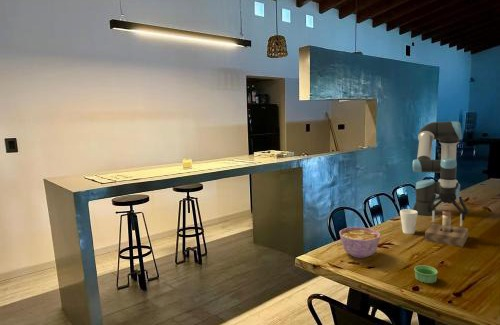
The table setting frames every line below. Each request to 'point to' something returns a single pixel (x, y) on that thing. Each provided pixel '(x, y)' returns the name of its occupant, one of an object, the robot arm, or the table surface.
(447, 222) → the dowel
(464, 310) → the table surface
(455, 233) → the square peg hole block
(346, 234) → the bowl of food
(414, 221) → the foam cup
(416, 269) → the ramekin
